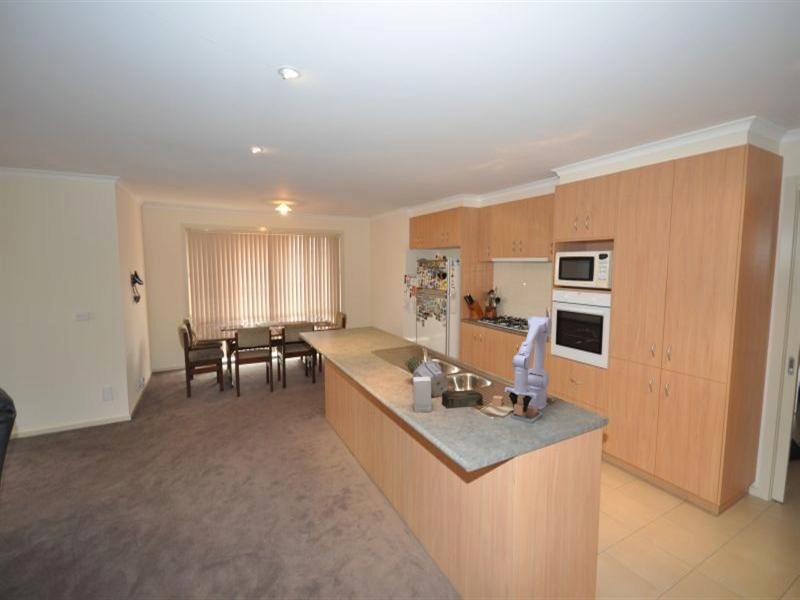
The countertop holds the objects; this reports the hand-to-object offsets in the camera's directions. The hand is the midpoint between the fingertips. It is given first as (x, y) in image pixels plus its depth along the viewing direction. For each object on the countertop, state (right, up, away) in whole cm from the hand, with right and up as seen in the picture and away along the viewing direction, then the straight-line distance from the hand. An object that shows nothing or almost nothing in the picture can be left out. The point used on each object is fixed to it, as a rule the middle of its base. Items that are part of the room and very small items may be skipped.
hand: (520, 410), depth 176 cm
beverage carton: (-24, -2, +17) cm, 29 cm away
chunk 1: (-6, -2, +15) cm, 16 cm away
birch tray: (-7, -3, +10) cm, 12 cm away
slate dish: (+3, -3, +1) cm, 5 cm away
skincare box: (-44, -3, +11) cm, 45 cm away
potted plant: (-40, 0, +39) cm, 56 cm away
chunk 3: (+6, -3, +2) cm, 7 cm away
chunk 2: (0, -1, 0) cm, 1 cm away
